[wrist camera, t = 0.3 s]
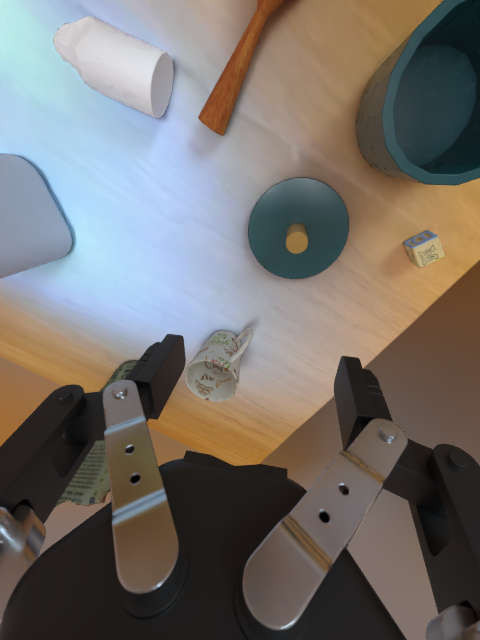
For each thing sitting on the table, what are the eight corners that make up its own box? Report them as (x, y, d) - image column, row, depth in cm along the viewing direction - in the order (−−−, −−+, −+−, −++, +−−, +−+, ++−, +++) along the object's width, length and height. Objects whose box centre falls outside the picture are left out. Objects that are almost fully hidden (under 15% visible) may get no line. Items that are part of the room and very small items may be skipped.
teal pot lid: (251, 175, 35) (243, 178, 30) (358, 178, 33) (369, 183, 28) (247, 272, 42) (240, 288, 37) (336, 279, 40) (342, 298, 35)
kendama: (177, 104, 29) (297, -226, 18) (203, 114, 34) (311, -141, 23) (220, 140, 29) (367, -167, 18) (240, 144, 34) (366, -95, 23)
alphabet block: (428, 229, 35) (438, 235, 32) (435, 250, 36) (446, 257, 33) (402, 241, 36) (410, 248, 33) (410, 261, 37) (419, 269, 35)
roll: (76, 12, 30) (35, -15, 25) (178, 60, 31) (156, 42, 26) (74, 79, 33) (37, 67, 28) (166, 122, 34) (145, 116, 29)
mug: (194, 343, 51) (174, 380, 43) (235, 299, 45) (221, 332, 36) (229, 368, 53) (217, 409, 44) (273, 329, 46) (268, 368, 38)
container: (371, 37, 27) (414, -28, 17) (507, 33, 25) (637, -43, 16) (345, 174, 33) (365, 182, 24) (452, 177, 32) (522, 187, 22)
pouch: (174, 377, 57) (102, 509, 35) (152, 406, 63) (79, 533, 42) (126, 349, 55) (21, 470, 34) (109, 381, 61) (9, 501, 40)
